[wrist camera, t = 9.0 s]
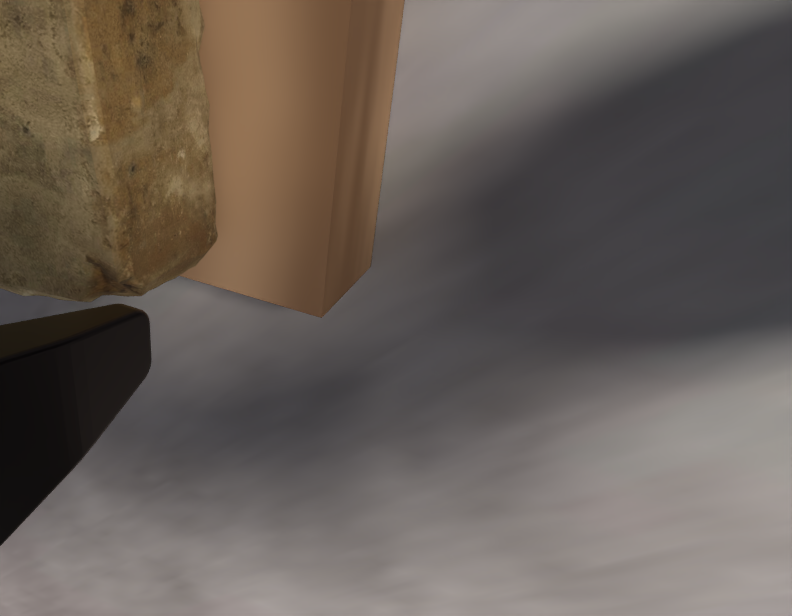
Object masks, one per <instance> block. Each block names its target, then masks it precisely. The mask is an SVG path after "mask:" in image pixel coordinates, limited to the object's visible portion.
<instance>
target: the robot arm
mask: <svg viewBox="0 0 792 616" xmlns="http://www.w3.org/2000/svg"><path fill="white" fill-rule="evenodd" d="M150 366H151V341H150V322H149V318H148V315H147V314H146V313H145V312H144V311H143V310H140V309H137V308H133V307H130V306H127V305H124V304H112V305H107V306H102V307H96V308H91V309H86V310H80V311H75V312H69V313H64V314H59V315H53V316H48V317H43V318H37V319H32V320H27V321H21V322H16V323H11V324H5V325H0V546H1V545H2V544H3V543H4V542H5V541H6V540H7V539H8V537H9V536H10V535H11V534H12V533H13V532H14V531H15V530H16V529H17V528H18V527H19V526H20V525H21V524H22V523H23V522H24V521H25V519H26V518H27V517H28V516H29V515H30V514H31V513H32V512H33V511H34V510H35V509H36V508H37V507H38V506H39V505H40V504H41V503H42V501H43V500H44V499H45V498H46V497H47V496H48V495H49V494H50V493H51V492H52V491H53V490H54V489H55V488H56V487H57V486H58V485H59V483H60V482H61V481H62V480H63V479H64V478H65V477H66V476H67V475H68V474H69V473H70V472H71V471H72V470H73V469H74V467H75V466H76V465H77V464H78V463H79V462H80V461H81V460H82V458H83V457H84V456H85V455H86V454H87V452H88V451H89V450H90V449H91V448H92V446H93V445H94V444H95V443H96V441H97V440H98V439H99V437H100V436H101V435H102V433H103V432H104V431H105V430H106V428H107V427H108V426H109V424H110V423H111V422H112V420H113V419H114V418H115V417H116V415H117V414H118V413H119V411H120V410H121V409H122V407H123V406H124V405H125V404H126V402H127V401H128V400H129V398H130V397H131V396H132V394H133V393H134V392H135V391H136V389H137V388H138V387H139V385H140V384H141V383H142V381H143V380H144V379H145V377H146V376H147V374H148V372H149V369H150Z"/></svg>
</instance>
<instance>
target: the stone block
mask: <svg viewBox="0 0 792 616" xmlns="http://www.w3.org/2000/svg"><path fill="white" fill-rule="evenodd" d="M204 27H205V24H204V20H203V16H202V12H201V8H200V4H199V0H0V288H2V289H5V290H7V291H10V292H13V293H16V294H19V295H22V296H34V295H40V296H49V297H52V298H56V299H59V300H69V301H82V302H91V301H93V300H95V299H96V298H98V297H100V296H102V295H118V296H142V295H144V294H145V293H146V292H148V291H149V290H152V289H154V288H156V287H158V286H159V285H161V284H163V283H165V282H167V281H169V280H172V279H174V278H176V277H177V276H179V275H181V274H182V273H184V272H185V271H187V270H188V269H190V268H192V267H194V266H196V265H197V264H198V263H199V261H200V260H201V259H202V258H203V257H204V256H205V255H206V253H207V252H208V251H209V250H210V248H211V247H212V246H213V245H214V244H215V242H216V241H217V237H218V233H217V229H216V224H215V223H216V195H215V187H214V178H213V164H212V152H211V145H210V138H209V107H210V105H209V101H208V97H207V93H206V89H205V82H204V76H203V72H202V67H201V63H200V56H199V50H200V45H201V40H202V36H203V31H204Z"/></svg>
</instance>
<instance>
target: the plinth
mask: <svg viewBox="0 0 792 616" xmlns="http://www.w3.org/2000/svg"><path fill="white" fill-rule="evenodd" d="M404 1H405V0H199V4H200V8H201V12H202V16H203V20H204V24H205V27H204V31H203V36H202V40H201V45H200V50H199V56H200V63H201V67H202V72H203V76H204V82H205V89H206V93H207V97H208V101H209V105H210V107H209V138H210V145H211V152H212V164H213V178H214V187H215V195H216V223H215V224H216V229H217V233H218V237H217V241H216V242H215V244H214V245H213V246H212V247H211V248H210V250H209V251H208V252H207V253H206V255H205V256H204V257H203V258H202V259H201V260H200V261H199V263H198V264H197V265H196V266H194V267H192V268H190V269H188V270H187V271H185V272H184V273H182V274H181V275H179V276H182V277H185V278H189V279H192V280H196V281H199V282H202V283H206V284H209V285H212V286H216V287H219V288H223V289H226V290H229V291H233V292H236V293H239V294H243V295H246V296H250V297H253V298H256V299H260V300H263V301H267V302H270V303H273V304H277V305H280V306H283V307H287V308H290V309H294V310H297V311H300V312H304V313H307V314H310V315H314V316H317V317H321V318H322V317H323V316H324V315H325V314H326V313H327V312H328V311H329V310H330V309H331V307H332V306H333V305H334V304H335V303H336V302H337V301H338V300H339V299H340V298H341V297H342V296H343V295H344V294H345V293H346V292H347V291H348V290H349V289H350V288H351V287H352V286H353V285H354V284H355V282H356V281H357V280H358V279H359V278H360V277H361V276H362V275H363V274H364V273H365V272H366V271H367V270H368V269H369V268H370V266H371V258H372V251H373V243H374V235H375V227H376V219H377V212H378V204H379V196H380V188H381V180H382V173H383V165H384V157H385V149H386V141H387V134H388V126H389V118H390V110H391V102H392V95H393V87H394V79H395V71H396V63H397V56H398V48H399V40H400V32H401V24H402V17H403V9H404Z"/></svg>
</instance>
